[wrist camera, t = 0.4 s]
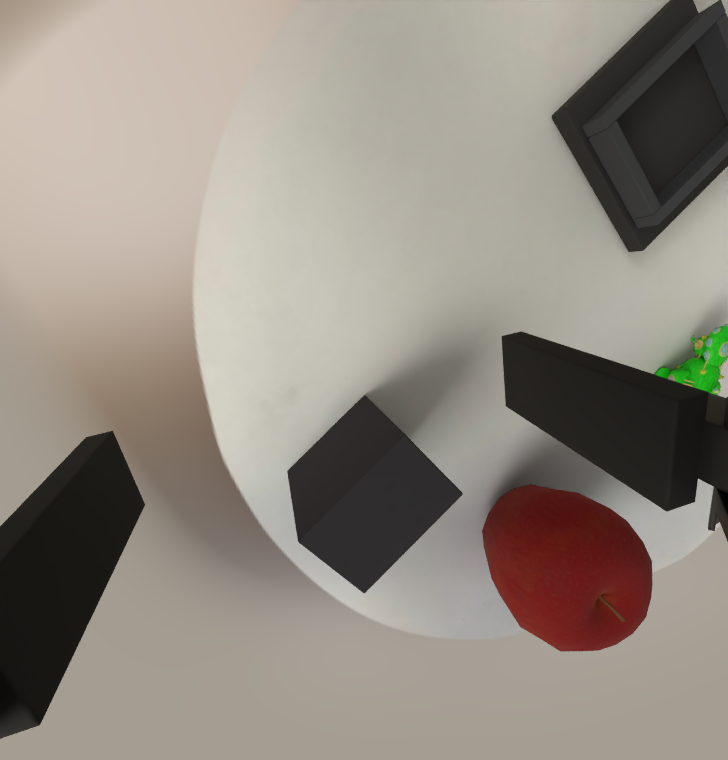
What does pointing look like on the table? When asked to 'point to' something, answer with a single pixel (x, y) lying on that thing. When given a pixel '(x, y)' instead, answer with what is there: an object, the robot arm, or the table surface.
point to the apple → (567, 567)
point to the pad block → (366, 495)
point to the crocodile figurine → (703, 362)
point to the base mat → (654, 120)
